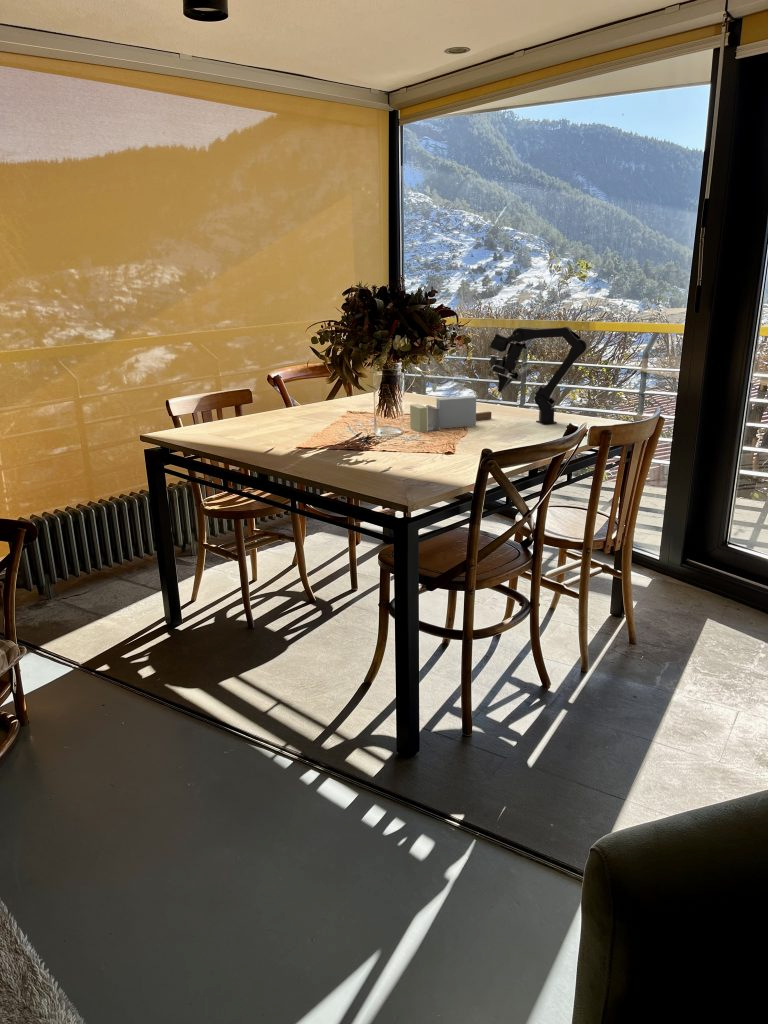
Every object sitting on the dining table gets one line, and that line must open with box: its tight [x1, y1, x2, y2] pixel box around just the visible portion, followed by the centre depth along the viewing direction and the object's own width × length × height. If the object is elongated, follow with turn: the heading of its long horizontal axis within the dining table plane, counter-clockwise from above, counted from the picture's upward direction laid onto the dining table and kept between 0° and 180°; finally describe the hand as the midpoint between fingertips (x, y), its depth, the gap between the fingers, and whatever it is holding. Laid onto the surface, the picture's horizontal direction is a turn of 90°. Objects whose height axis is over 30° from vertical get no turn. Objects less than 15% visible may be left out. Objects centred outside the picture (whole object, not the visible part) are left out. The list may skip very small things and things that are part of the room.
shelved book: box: [409, 403, 429, 433], centre depth 321 cm, size 9×4×10 cm, turn 23°
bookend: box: [425, 404, 440, 432], centre depth 322 cm, size 9×6×9 cm
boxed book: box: [436, 395, 477, 429], centre depth 327 cm, size 16×5×12 cm, turn 103°
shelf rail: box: [476, 410, 492, 422], centre depth 335 cm, size 2×30×3 cm, turn 114°
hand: (499, 391), depth 330 cm, fingers closed
